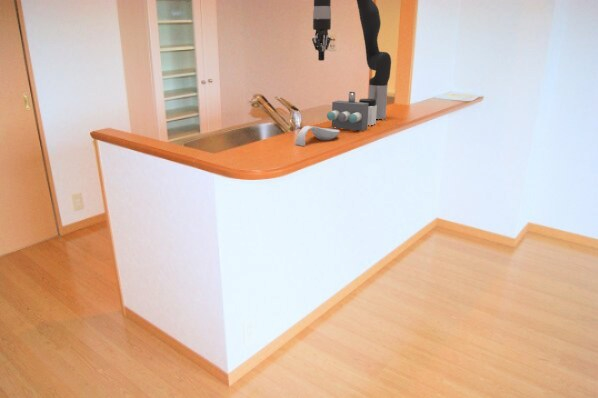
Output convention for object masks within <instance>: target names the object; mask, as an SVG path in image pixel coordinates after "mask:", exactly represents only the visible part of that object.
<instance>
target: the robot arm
mask: <svg viewBox="0 0 598 398" xmlns="http://www.w3.org/2000/svg"><path fill="white" fill-rule="evenodd" d="M331 2H332V1H331V0H313V11H312V29H313V30H314V31H315V32H314V37H312V39H311V42H312V44H313V46H314V49H315V51H317V52H318V56H317V57H318V61H323V62H324V61H325V52H326V51H327V50H328V49H329V45H330V43H331V40H332V38H331V37H329V33H328V31H329V30H331V26H332V25H331V24H332V23H331V22H332V20H331V19H332V8H331V7H332V5H331ZM356 4H357V8H358V9H357V10H358V13H359V14H358V15H359V19H360V25H361V29H362V34H363V35H362V36H363V40H364V46H365V57H366V64H367V67H368V68H369V69H370V70H371V71H375V74H374V76H373V77H371V78H369V80H368V82H369V83H368V98H367V99H376V105H377V114H376V119H384V120H386V117H387V100H388V99H387V98H388V83H389V80H390V77H391V68H392V57H391V55H390V54H389V53H388V52H386V51H380V49H379V43H378V37H379V33H380V29H381V18H380V17H381V15H380V10H379V8H378V6H377V4H376V3H375V2H374V1H373V0H356Z"/></svg>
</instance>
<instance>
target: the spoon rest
mask: <svg viewBox="0 0 598 398" xmlns="http://www.w3.org/2000/svg"><path fill="white" fill-rule="evenodd" d="M309 131H311V133H312V134H313V136H315V138H316V139H318V140H321V141H330V140H332V139H335V138H336V137H337V136H339V134H340V129H337V128H327V127H326V128H324V127H319V126H311V125H305V126H303V127H302V128H301V129H300V131H299V132H298V133H297V136H296V139H295V145H296V146H302V147H305V146H306V136H307V133H308V132H309Z"/></svg>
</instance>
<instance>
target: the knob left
mask: <svg viewBox="0 0 598 398" xmlns="http://www.w3.org/2000/svg"><path fill="white" fill-rule="evenodd" d="M339 113H340V112H339V111H338V110H334V111H332V110H331V111H328V112H327V114H326V118H327V119H328V121H332V120H335V119H338V114H339Z"/></svg>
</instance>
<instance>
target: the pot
mask: <svg viewBox="0 0 598 398" xmlns="http://www.w3.org/2000/svg"><path fill="white" fill-rule="evenodd" d="M348 101H349V102H350V103H354V102H356V92H355V91H349V93H348Z"/></svg>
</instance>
